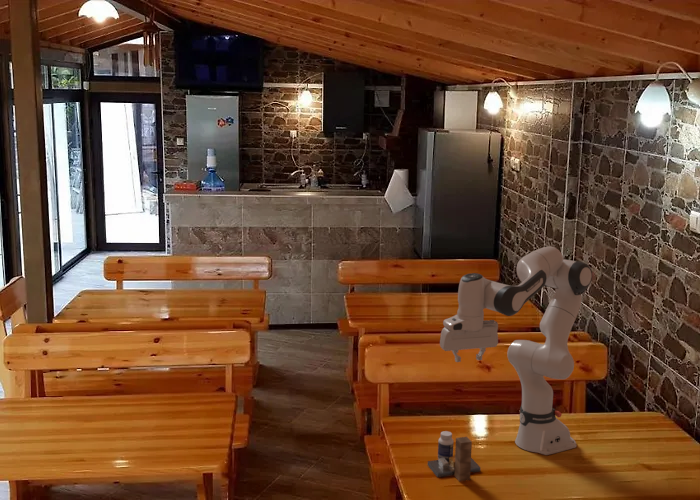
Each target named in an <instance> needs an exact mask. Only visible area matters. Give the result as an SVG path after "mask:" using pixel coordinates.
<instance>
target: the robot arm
mask: <svg viewBox="0 0 700 500" xmlns="http://www.w3.org/2000/svg"><path fill="white" fill-rule="evenodd" d="M516 274H517V277H518V279H519V281H520V282H521V283H519V284H518V285H508V284H505V283H501V282H498V281H494V280H490V279H487V278H486V277H484V276H483V275H482V274H481V273H479V272H478V273H477V272H476V273H475V272H473V273H472V272H471V273H467V274H464V275H462V277H461V278H460V280H459V284H458V291H457V302H458V309H457V312H456V314H455V315H453V316H451V317H449V318H448V317H447V318H445V319H444V320H443V321H442V324H443V325H442V326H444V327H443V328H441V329H442V330H441V332H440V339H439V346H440V348H441V349H442V351H443V350H444V351H445V352H450V351H451V352H452V354H453V356H454V361H455V362H456V363H460V362H461V361H462V357H461V356H460V355H458V353H459V351H461V350H471V349H472V350H474V349H479V351H478V353H476V355H475V356H476V357H475V360H477V361H482V360H483V356H484V354H485V352H486V350H487V349H488V348H496V347H497V346H498V344H499V335H498V331H499V323H498V321H497V320H496V321H495V320H494V319H489V320H487V319H486V320H484V318H485V317H484V316H485V315H484V313H485V312H484V310H485V309H487V310H490V311H494V312H496V313H497V312H498V313H499V314H501V315H504V316H507V317H512V316H514V315H516V314H518V313H519V311H520V310H522V308H523V306H524V305H525V304H526V303H527V302H528V301H529V300H530V299H532V298H533V297H534V296H536V294H538V293H539V291H541V290H542V289H543V287H546V288H553V289H555V290H554V295H553V297H551V299H550V301H549V303H548V305H547V307H546V309H545V311H544V314H543V316H542V318H541V319H540V322H539V330H540V332H541V334H542V335H543V336H544V337H545V342H544V343H539V342H536V341H532V340H529V339H528V340H527V339H515V340H513V342H511V343H510V345H509V347H508V348H507V352H506V353H507V354H506V355H507V359H508V362H509V363H510V364H511V365H512V367H513V368H514V370H515V371H516V373H517V376H518V378H519V381H520V384H521V405H520V408H519V427H518V431H517V435H516V438H515V440H514V443H515V444H516V446H518V447H519V448H520V449H522V450H525V451H528V452H532V453H536V454H537V453H539V454H541V455H544V456H548V455H553V454H557V453H560V452H565V451H567V450H571V449H575V448H576V449H577V442H576V440H575V439H574V438H573V437H571V432H570V430H569V427H568V426H566V424H564V423H563V422H562V421H561V420H560V419H558V418H562V416H563V415H562V412H560V411H559V410H556V409H555V408H554V407H553V402H554V390H553V388H552V386H551V385H550V384H549V383H548V382H547V381H546V379H545V378H549V379H554V380H566V379H568V378H569V377H570V376H571V375H572V373H573V372H574V367H575V360H574V358H573V355H572V354H571V353H570V351H569V345H568V342H569V340H568V339H569V337H570V334H571V333H570V332H571V331H572V328H573V326H574V323H575V321H576V319H577V317H578V314H579V311H580V308H581V304H582V298H583V297H582V294H584V293H585V292H586V290H587V289H588V288H589V287H590V285H591V283H592V280H593V271H592V268H591V266H590V265H589V264H588V263H585V262H582V261H579V260H578V261H576V260H571V259H564V257H563V254H562V252H561V250H560V249H558V248H557V247H555V246H550V245H549V246H544V247H541V248H538V249H536V250H533V251H531V252H529V253H527V254H526V255H524V256H522V258H520V259H519V260H518V262H517V264H516ZM486 348H487V349H486Z"/></svg>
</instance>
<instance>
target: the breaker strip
mask: <svg viewBox="0 0 700 500" xmlns="http://www.w3.org/2000/svg"><path fill="white" fill-rule="evenodd" d="M427 466H428V468H429V469H430V470H431V472H433V474H434V475H435V476H436V477H437V478H443V477H451V476H452V477H453V476H454V473H455V455H453V456H452V457H449V459H445V458H439V459H435V460H428V461H427ZM481 468H482V467H481V466H480V465H479V464H478V463H477V462H476V461H475V459H473V457H471V470H470V474H472V473H471V472H473V473H479V472H481Z"/></svg>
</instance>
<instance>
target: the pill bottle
mask: <svg viewBox="0 0 700 500" xmlns="http://www.w3.org/2000/svg"><path fill="white" fill-rule="evenodd" d="M437 441H438V443H437V446H438V447H437V460H439V458H445V459H449V457H452V456H454V438H453V433H452V432H451V431H448V430H445V431H441V432H440V437H439V438H438V440H437Z"/></svg>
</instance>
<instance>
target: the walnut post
mask: <svg viewBox="0 0 700 500" xmlns="http://www.w3.org/2000/svg"><path fill="white" fill-rule="evenodd" d="M472 442H473V441H471V439H470V438H469V437H468V436H461V437H456V438H455V449H454V451H455V453H454V454H455V455H454V456H455V473H454V475H453V476H454V477H455V478H456V480H457V481H458V482H466V480H467V481H470V480H471V473H470V470H471V458H472V447H473V446H472V445H473V443H472Z"/></svg>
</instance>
